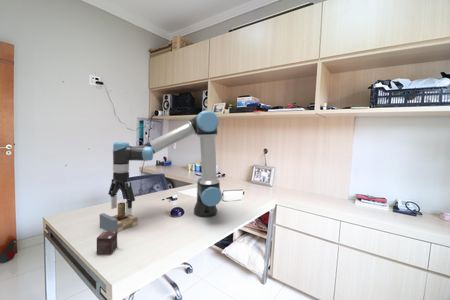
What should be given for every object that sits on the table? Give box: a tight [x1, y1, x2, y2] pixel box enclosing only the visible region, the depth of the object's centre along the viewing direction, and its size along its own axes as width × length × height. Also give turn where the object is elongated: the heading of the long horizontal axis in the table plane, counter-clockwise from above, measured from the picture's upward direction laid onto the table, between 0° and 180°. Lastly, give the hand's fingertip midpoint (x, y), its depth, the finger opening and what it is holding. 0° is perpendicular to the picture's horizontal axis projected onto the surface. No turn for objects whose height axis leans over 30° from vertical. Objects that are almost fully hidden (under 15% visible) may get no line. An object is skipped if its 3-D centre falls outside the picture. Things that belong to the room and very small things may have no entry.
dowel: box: [117, 201, 126, 221], centre depth 111 cm, size 4×4×12 cm
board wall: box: [99, 213, 119, 234], centre depth 115 cm, size 15×28×8 cm, turn 148°
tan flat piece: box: [111, 211, 138, 233], centre depth 111 cm, size 12×12×4 cm
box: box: [96, 230, 118, 256], centre depth 89 cm, size 6×6×7 cm
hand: (121, 211), depth 111 cm, fingers open, 13 cm apart
